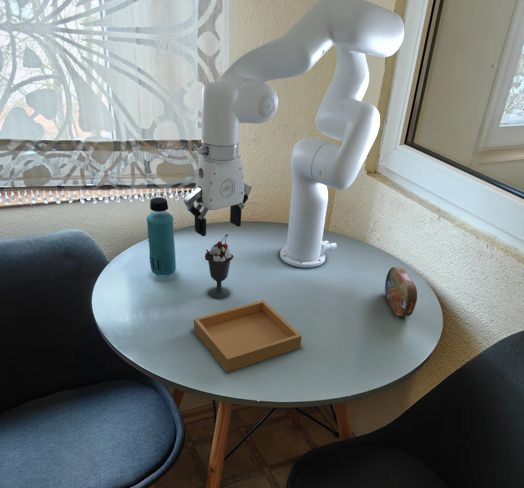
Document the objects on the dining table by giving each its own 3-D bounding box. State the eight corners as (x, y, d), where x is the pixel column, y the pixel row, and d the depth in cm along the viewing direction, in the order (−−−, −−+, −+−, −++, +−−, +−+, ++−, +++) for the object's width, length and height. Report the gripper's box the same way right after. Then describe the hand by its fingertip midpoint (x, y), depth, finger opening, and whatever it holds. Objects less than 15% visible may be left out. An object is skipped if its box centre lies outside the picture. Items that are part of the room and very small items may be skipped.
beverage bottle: (179, 270, 134) (176, 195, 121) (173, 283, 128) (169, 206, 116) (154, 267, 134) (148, 192, 122) (147, 280, 129) (140, 203, 116)
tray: (262, 312, 120) (263, 300, 118) (300, 348, 110) (301, 335, 108) (193, 331, 113) (193, 318, 111) (227, 372, 102) (227, 359, 100)
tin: (382, 290, 132) (389, 260, 127) (394, 290, 132) (401, 260, 127) (399, 323, 120) (408, 292, 115) (412, 323, 120) (421, 292, 115)
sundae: (236, 289, 128) (238, 233, 119) (226, 302, 123) (227, 245, 113) (212, 283, 129) (212, 227, 120) (200, 296, 124) (200, 239, 115)
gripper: (195, 161, 98) (196, 244, 108) (263, 149, 108) (258, 226, 118) (174, 151, 103) (176, 231, 113) (241, 140, 112) (237, 215, 122)
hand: (218, 229), depth 115 cm, fingers open, 9 cm apart
